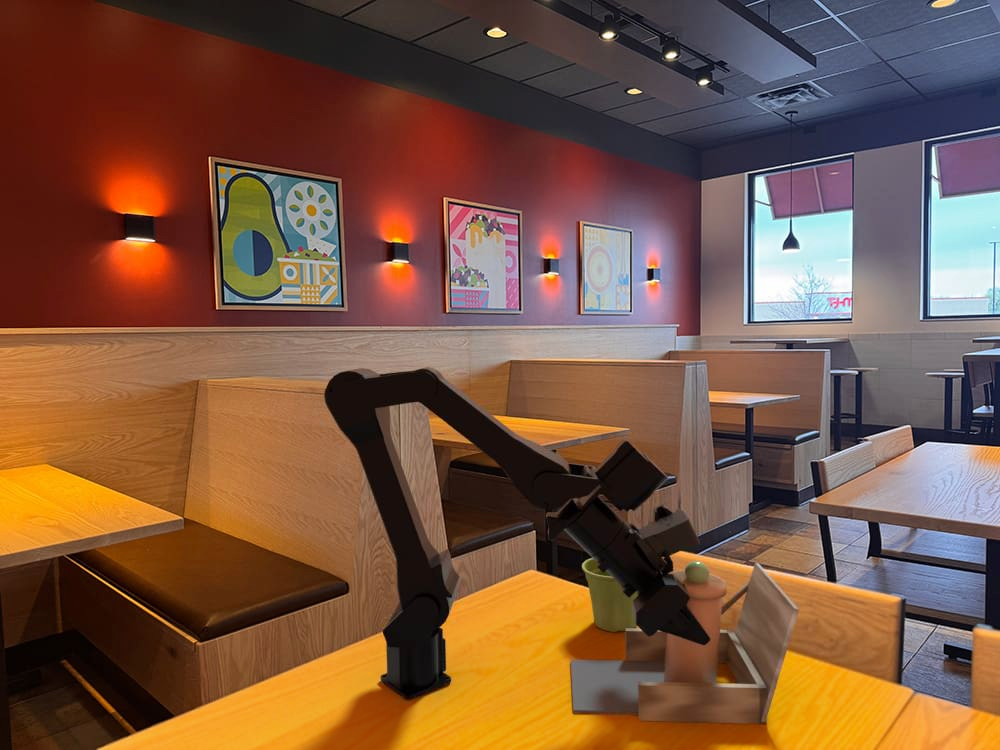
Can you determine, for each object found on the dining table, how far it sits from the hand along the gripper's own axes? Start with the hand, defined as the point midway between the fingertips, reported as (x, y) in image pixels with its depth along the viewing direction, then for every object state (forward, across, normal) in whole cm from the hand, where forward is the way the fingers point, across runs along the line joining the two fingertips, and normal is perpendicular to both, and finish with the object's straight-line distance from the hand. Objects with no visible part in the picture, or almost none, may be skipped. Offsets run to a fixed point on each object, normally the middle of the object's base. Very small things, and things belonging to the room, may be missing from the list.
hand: (701, 630), depth 83 cm
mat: (-2, 0, +12) cm, 12 cm away
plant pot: (-1, +18, +11) cm, 21 cm away
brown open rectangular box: (+5, 0, +5) cm, 7 cm away
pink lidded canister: (+4, 0, +6) cm, 7 cm away
